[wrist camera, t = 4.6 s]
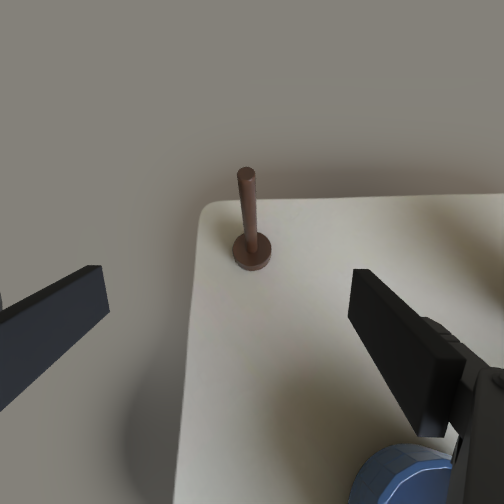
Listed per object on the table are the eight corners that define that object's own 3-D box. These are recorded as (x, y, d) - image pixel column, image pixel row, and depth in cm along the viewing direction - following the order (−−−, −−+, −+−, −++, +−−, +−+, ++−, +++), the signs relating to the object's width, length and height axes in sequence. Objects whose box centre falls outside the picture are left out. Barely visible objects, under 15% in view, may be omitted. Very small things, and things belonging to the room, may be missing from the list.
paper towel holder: (235, 272, 33) (216, 202, 19) (232, 239, 35) (213, 153, 21) (273, 268, 33) (281, 195, 19) (268, 235, 35) (272, 147, 21)
